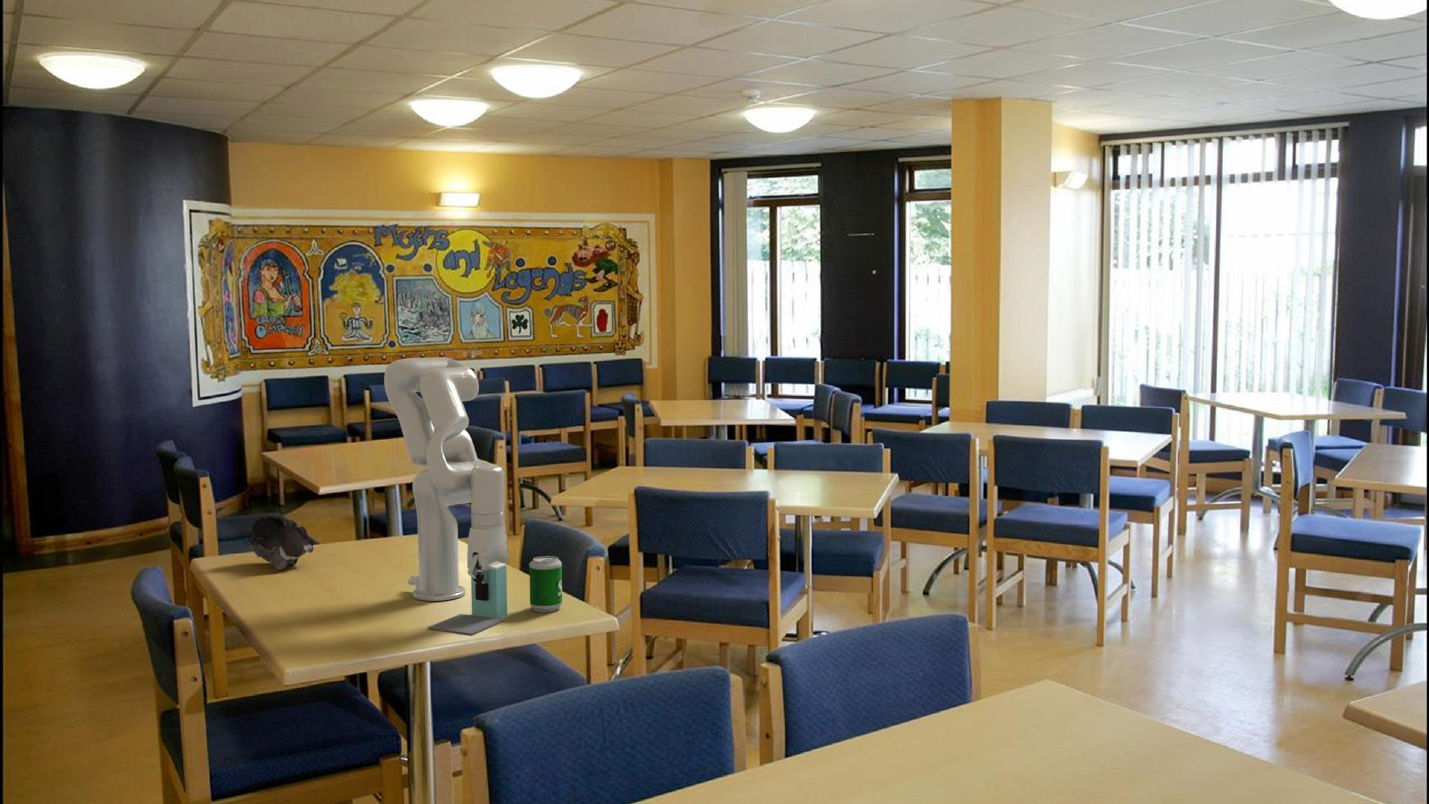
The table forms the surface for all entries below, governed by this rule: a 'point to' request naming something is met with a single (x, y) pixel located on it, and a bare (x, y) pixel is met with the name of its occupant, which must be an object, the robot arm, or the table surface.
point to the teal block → (492, 594)
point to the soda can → (545, 584)
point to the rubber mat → (466, 624)
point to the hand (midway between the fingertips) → (489, 596)
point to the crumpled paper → (279, 541)
